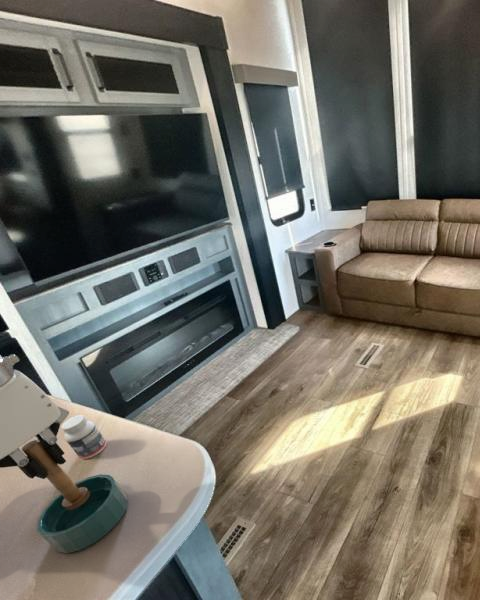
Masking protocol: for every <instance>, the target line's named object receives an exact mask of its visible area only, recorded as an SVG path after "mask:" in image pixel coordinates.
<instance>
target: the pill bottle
mask: <svg viewBox="0 0 480 600" xmlns="http://www.w3.org/2000/svg"><path fill="white" fill-rule="evenodd" d="M61 430H62V431H63V432H64V440H65V441H66V443H67V444H68V445H69V446H70V448H71V449H72V450H73V452H74V453H75V454H76V456H77V457H78V458H79V459H81V460H86V459H87V460H88V459H91V458H93V457H95V456H97V455H99V454H100V453H101V452H102V451H103V450H104V449H105V448H106V446H107V439H105V437H104V435H102V433H101V432H100V430H99V429H98V428H97V425H96V424H95V423H94V422H93V421H91V420H90V421H89V420H88V419H87V418H86V417H85V415H83V414H78V415H74V416H72V417H70V418H69V419H67V420H65V421H63V422H62V425H61Z"/></svg>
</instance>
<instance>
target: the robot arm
mask: <svg viewBox="0 0 480 600" xmlns="http://www.w3.org/2000/svg"><path fill="white" fill-rule="evenodd" d="M18 362H20V358H19V356H17V354H14V353H12V354H9V355H8V356H7V355H5V356H2V355H0V469H1V468H2V469H3V468H10V467H11V468H12V467H13V468H14V467H18V468H19V470H21V471H22V473H23V474H24V475H25V476H26V477H28V478H29V479H34V478H35V477H36V478H38V479H42V480H45V479H47V478H46V477H47V475H48V473H47V472H46V471H45V470H44V469H43V468H42V467H41V465H40V464H39V463H38V462H37V461H36V460H35V459H32V458H29V457H28V456H27V455H26V454H25V453H24V452H23V451H22V449H21V448H20V447H22V446H24V445H25V444H27V443H28V442H30V441H31V440H32V439H33V438H35V440H38V441H39V443H40V444H41V445H42V446H43V447H44V449H45V450H46V451H47V452H48V453H49V454H50V456H51V457H52V458H53V459H54V460H55V462H56V463H57V464H58V465H59V466H60V465H61V466H62V465H64V464H65V463H67V460H66V458H65V457H63V455H65V452H64V450H63V449H62V448H61V447H60V446H59V444H58V443H57V442H58V437H57V436H58V433H59V430H60V428H61V424H63V423H64V422H65V421H66V419H67V417H68V416H69V415H70V411H69V410H67V409H65V408H62V407H60V406H57V404H56V403H55V402H54V401H53V400H52V399H51V397H49V396H48V394H47V393H46V392H45V391H44V390H43V389H42V388H41V387H40V386H38V385H37V384H36V383H35V382H34V381H33V380H32V379H31V378H29V377H28V376H27V375H25V374H24V373H23V372H21V371H20V370H17V369H14V366H15V364H16V363H18Z"/></svg>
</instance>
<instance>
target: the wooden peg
mask: <svg viewBox="0 0 480 600" xmlns="http://www.w3.org/2000/svg"><path fill="white" fill-rule="evenodd" d="M21 451H22V452H23V453H24V455H25V456H27V457H29V458H32V459H35V460H36V461H37V462H38V463H39V464H40V465H41V467H42V468H43V469H44V470H45V471H46V472H47V473H48V475H47V477H46V478H45V479H47V480H48V481H49V482H50V483H51V485H52V486H53V487H54V488H55V489H56V490H57V491H58V493H59V494H62V496H63V497H64V500H63V501H62V506H63V507H64V508H65V509H66V510H72V509H75V508H77V507H79V506H80V505H82V504H83V503H84V502H85V501H86V500H87V499H88V498H89V496H90V492H89V490H88V489H87V488H86V487H81V488H78V487H77V486H76V485H75V483H74V481H73V480H72V479H71V477H69V475H68V474H67V473H66V472H65V470H63V468H62V467H61V466H60V464H57V463H56V462H55V460H54V459H53V458H52V457H51V456H50V454H49V453H48V452H47V451H46V450H45V449H44V447H43V446H42V445H41V444H40V443H39V441H38V440H37V439H34V440H30V441H28V442H26V443H25V444H23V445H22V446H21Z"/></svg>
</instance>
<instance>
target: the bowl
mask: <svg viewBox="0 0 480 600" xmlns="http://www.w3.org/2000/svg"><path fill="white" fill-rule="evenodd" d="M74 484H75V485H76V486H77V487H78V488H81V487H86V488H87V489H88V490H89V492H90V496H89V498H88V499H87V500H86V501H85V502H84V503H83V504H82V505H80V506H79V507H77V508H75V509H72V510H66V509H65V508H64V507H63V506H62V501H63V500H64V497H63V496H62V494H61V493H59V494H58V495H57V496H56V497H55V498H53V499H52V500H51V501H50V503H49V504H48V505H47V506H46V507H44V510H42V512H41V513H40V516H39V518H38V520H37V522H36V531H37V532H38V533H39V534H40V535H41V537H43V539H44V540H46V542H48V543H49V544H50V545H51V547H52V548H54V549H55V550H56V552H57V553H64V554H70V553H74V552H77V551H81V550H83V549H85V548H87V547H88V546H91V545H92V544H95V543H96V542H98V541H99V540H100V539H101V538H103V537H104V536H105V535H107V534H108V533H109V532H110V531H112V529H114V527H115V526H116V525H117V524H118V523H119V522H120V520H121V518H122V517H123V516H124V514H125V513H126V510H127V507H128V504H129V498H128V495H127V494H126V492H125V490H124V489H123V488H122V486H121V485H120V484H119V483H118V481H117V480H116V479H115V478H114V477H113V476H112V475H110V474H102V473H101V474H95V475H91V476H89V477H86V478H84V479H82V480H79V481H77V482H75V483H74Z"/></svg>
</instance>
